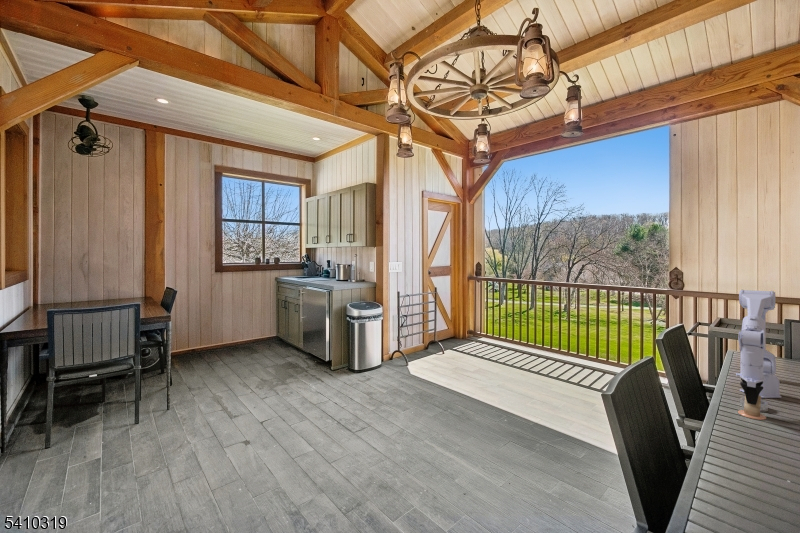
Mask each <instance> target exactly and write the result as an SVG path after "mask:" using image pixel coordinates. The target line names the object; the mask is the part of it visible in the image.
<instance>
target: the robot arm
mask: <svg viewBox="0 0 800 533" xmlns="http://www.w3.org/2000/svg"><path fill="white" fill-rule="evenodd" d="M738 294H739V295H738V302H739V304H740V307H742V309H746V311H747V315H746V316H744V317H743V318H742V323H741V324H742V325H741V330H739V331H738V340H737V341H738V346H739V351H740V369H739V370H740V372H736V373H735V376H736V377H739V378H740V380H741V381H740V383H739V385H740V387H741V389H739V391H740V392H742V393H744V397H745V396H746V400H747V403H748V404H753V405H756V403H757V400H758V396H759V395H760V396H761V399H773V398H774V399H775V398H776V399H777V398H778V399H779V398H782V396H781V394H780V379H779V377H778V376H777V375H776V374H777V360H776V359H777V358H776V356H775V354H773V353H772V352H770V351H769V350H767V345H766V343H767V342H766V340H767V339H766V337H767V336H766V335H767V334H766V333H767V332H766V330H767V328H766V324H767V323H766V322H767V321H766V319H767V318H766V316H767V313H768V311H772V310H773V311H774V310H775V308H776V292H775V291H774V290H751V289H750V290H748V289H741V290H739V292H738ZM774 374H775V375H774Z"/></svg>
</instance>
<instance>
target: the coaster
mask: <svg viewBox="0 0 800 533" xmlns="http://www.w3.org/2000/svg"><path fill="white" fill-rule="evenodd" d="M737 414H739V415H741V416H742V417H744V418H748V419H751V420H755V421H757V420H758V421H765V420H767V417H766V415H764V414H762V413H760V416H759V417H758V416H752V415H748V414H746V413H744V409H739V410H737Z"/></svg>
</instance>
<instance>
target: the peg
mask: <svg viewBox="0 0 800 533" xmlns="http://www.w3.org/2000/svg"><path fill="white" fill-rule="evenodd" d="M744 397H745V403H744V407H743V410H744V413H746V414H748V415H752V416H758V417H759V416H760V414H761V412H760V408H761V400H762V398H761V396H760V395H759V396H758V400H757V403H756V405H753V404H748V403H747V400H746V396H745V395H744Z"/></svg>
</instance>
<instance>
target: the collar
mask: <svg viewBox="0 0 800 533" xmlns="http://www.w3.org/2000/svg"><path fill="white" fill-rule="evenodd" d="M744 403H745V396H742V397H740V398H739V405H740V406H741V407H742V408H744ZM768 411H769V403H768V402H767V401H765V400H762V399H761V408H760V413H762V412H768Z"/></svg>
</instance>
